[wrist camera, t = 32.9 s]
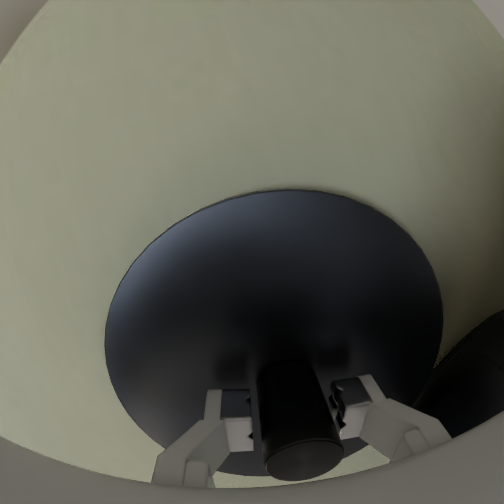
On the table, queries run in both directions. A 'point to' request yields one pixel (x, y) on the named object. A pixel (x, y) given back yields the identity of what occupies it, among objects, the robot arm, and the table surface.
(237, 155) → the table surface
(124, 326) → the tin lid
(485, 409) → the waste tin
